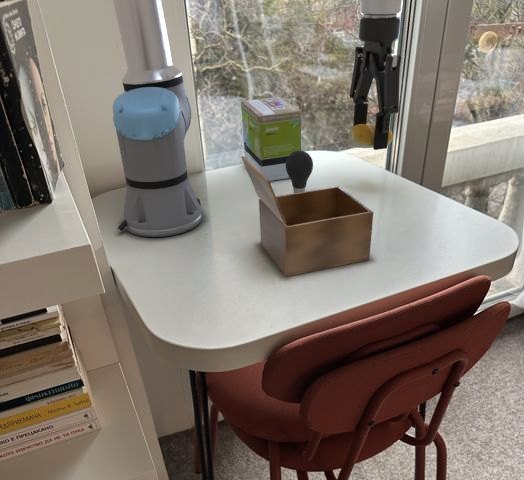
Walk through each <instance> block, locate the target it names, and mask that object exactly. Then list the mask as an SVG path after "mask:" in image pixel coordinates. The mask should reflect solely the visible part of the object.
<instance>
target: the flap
mask: <svg viewBox="0 0 524 480" xmlns="http://www.w3.org/2000/svg"><path fill="white" fill-rule="evenodd" d="M241 161H242V162H243V165H244V167H245V170H246V172H247V174H248V177H249V179H250V181H251V183H252V186H253V188H254V191H255V193H256V195H257V197H258V198H259V199H261V200H262V201H263V202H264V203H265V204H266V205H267V206H268V207H269V208H270V209H271V210H272V212H273V213H274V214H275V215H276V216H277V217H278V218H279V219H280V220H281V221H282V222H283V223H284V224H285V223H286V221H285V218H284V216H283V213H282V211H281V208H280V206H279V203H278V201H277V198H276V196H277V195H276V193H275V191H274V188H273V186H272V183H271V181H269V180H268V179H267V178H266V177H265V176H264V175H263V174H262V173H261V172H260V171H259V170H258V169H257V168H255V167H254V166H253V165H252V164H251V163H250V162H249V161H248V160H247V159H246V158H245V155H242V156H241Z"/></svg>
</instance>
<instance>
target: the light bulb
mask: <svg viewBox="0 0 524 480" xmlns="http://www.w3.org/2000/svg"><path fill="white" fill-rule="evenodd" d="M313 170H314V161H313V158H312V156H311V155H310V154H309V152H306V151H305V150H302V149H301V150H298V151H294V152H293V153H291V154H290V155H289V156H288V158H287V160H286V171H287V174H288V175H289V177H290V178H289V179H290V181H291V185H292V188H293V192H292V194H293V193H299V192H305V191H306V187H307V183H308V180H309V178H310V176H311V174H312V173H313Z"/></svg>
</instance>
